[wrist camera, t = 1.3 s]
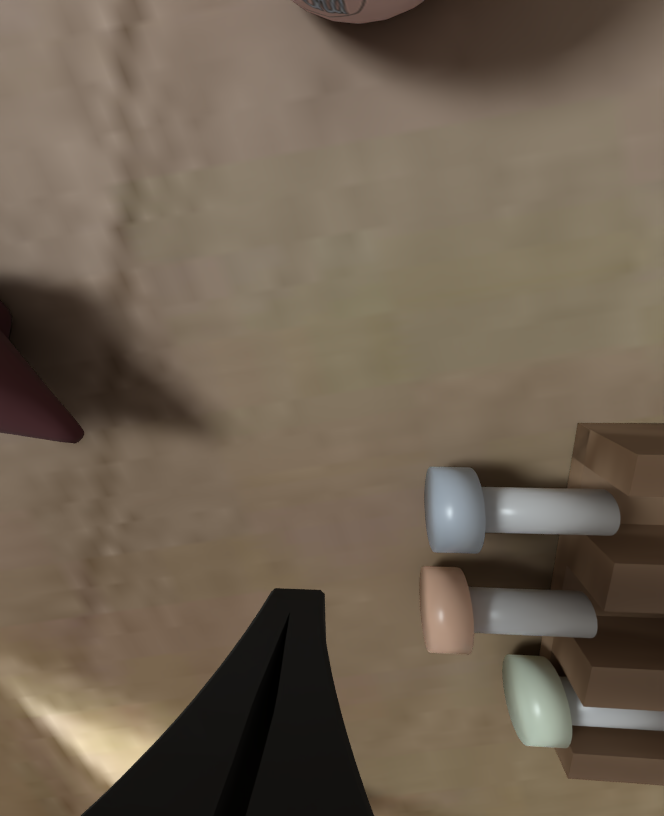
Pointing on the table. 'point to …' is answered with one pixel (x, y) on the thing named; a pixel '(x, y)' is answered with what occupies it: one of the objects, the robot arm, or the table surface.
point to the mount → (616, 603)
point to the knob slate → (508, 510)
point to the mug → (357, 9)
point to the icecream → (29, 396)
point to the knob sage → (558, 705)
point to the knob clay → (495, 611)
